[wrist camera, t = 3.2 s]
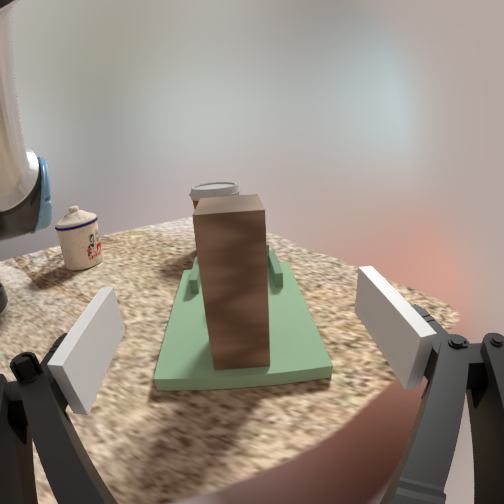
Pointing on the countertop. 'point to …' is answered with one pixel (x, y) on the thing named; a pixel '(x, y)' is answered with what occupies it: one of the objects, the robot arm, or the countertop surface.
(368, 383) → the countertop surface
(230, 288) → the walnut block
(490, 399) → the robot arm
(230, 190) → the disposable coffee cup
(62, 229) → the teacup with lid
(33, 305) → the countertop surface
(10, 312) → the countertop surface
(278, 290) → the pad
